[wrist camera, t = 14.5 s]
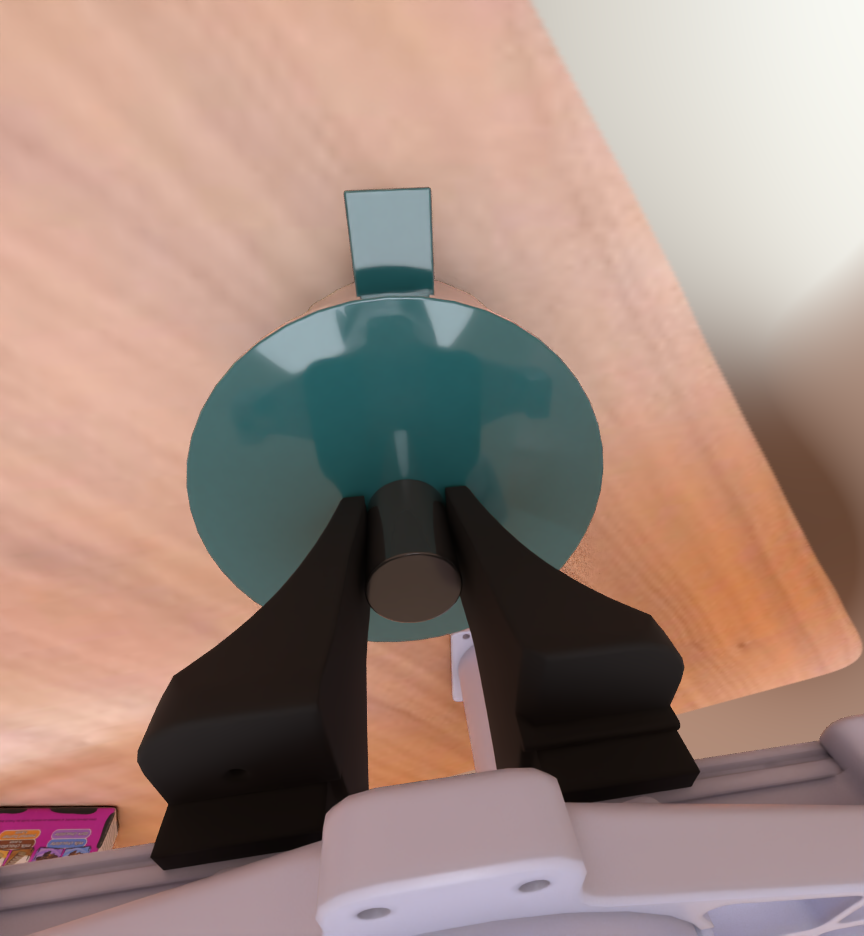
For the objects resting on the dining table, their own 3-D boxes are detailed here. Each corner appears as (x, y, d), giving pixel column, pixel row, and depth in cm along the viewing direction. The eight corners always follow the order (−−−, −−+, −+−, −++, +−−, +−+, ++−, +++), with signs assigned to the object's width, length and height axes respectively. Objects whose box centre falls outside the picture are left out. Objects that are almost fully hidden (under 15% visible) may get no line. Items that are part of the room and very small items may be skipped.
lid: (621, 273, 11) (739, 304, 8) (564, 599, 18) (614, 700, 14) (128, 305, 10) (-8, 357, 7) (258, 636, 17) (226, 755, 13)
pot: (533, 187, 16) (597, 178, 11) (509, 530, 25) (539, 604, 20) (226, 200, 15) (162, 196, 11) (312, 551, 24) (297, 632, 19)
